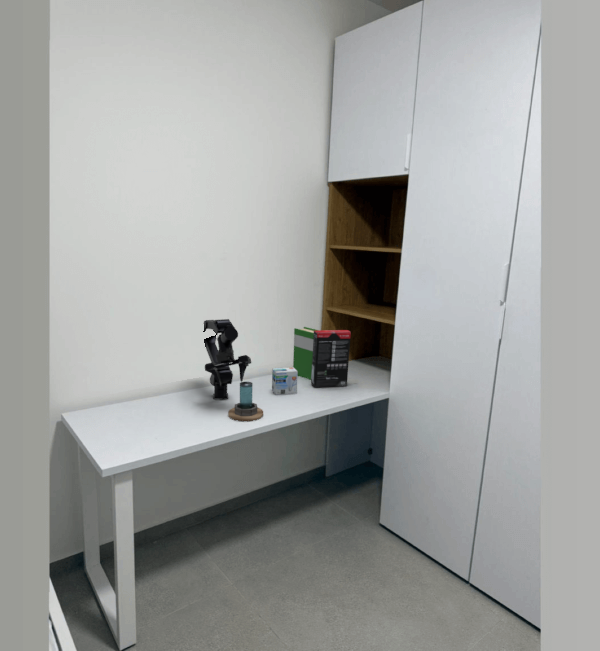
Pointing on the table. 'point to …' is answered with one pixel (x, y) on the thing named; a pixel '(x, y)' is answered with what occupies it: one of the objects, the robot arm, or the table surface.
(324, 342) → the graphics card box
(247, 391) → the ball
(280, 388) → the light bulb box
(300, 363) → the hardback book
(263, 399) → the table surface
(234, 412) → the socket dock
